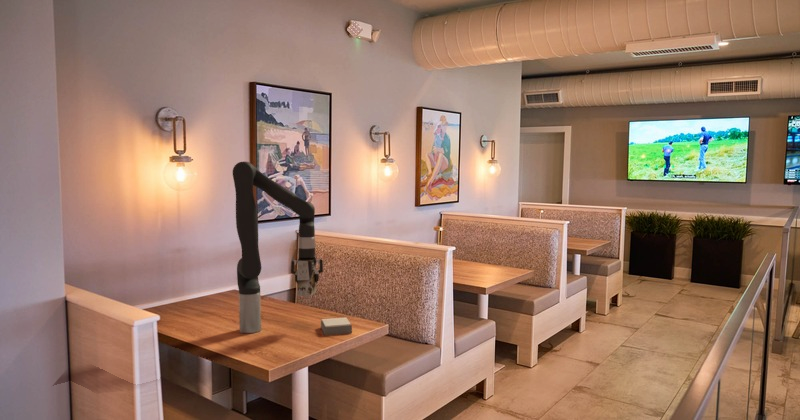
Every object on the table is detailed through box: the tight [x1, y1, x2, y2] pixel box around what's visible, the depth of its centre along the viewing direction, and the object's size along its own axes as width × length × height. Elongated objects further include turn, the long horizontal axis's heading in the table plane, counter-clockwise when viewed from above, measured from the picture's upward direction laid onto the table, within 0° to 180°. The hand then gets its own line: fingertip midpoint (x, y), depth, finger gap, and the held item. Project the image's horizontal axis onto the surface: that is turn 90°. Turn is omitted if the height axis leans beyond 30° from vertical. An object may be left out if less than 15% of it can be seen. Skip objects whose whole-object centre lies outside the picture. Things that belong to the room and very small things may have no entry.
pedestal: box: [320, 316, 353, 336], centre depth 252 cm, size 12×12×4 cm
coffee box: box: [296, 257, 317, 298], centre depth 252 cm, size 9×6×16 cm
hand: (306, 282), depth 253 cm, fingers closed on coffee box, 8 cm apart
